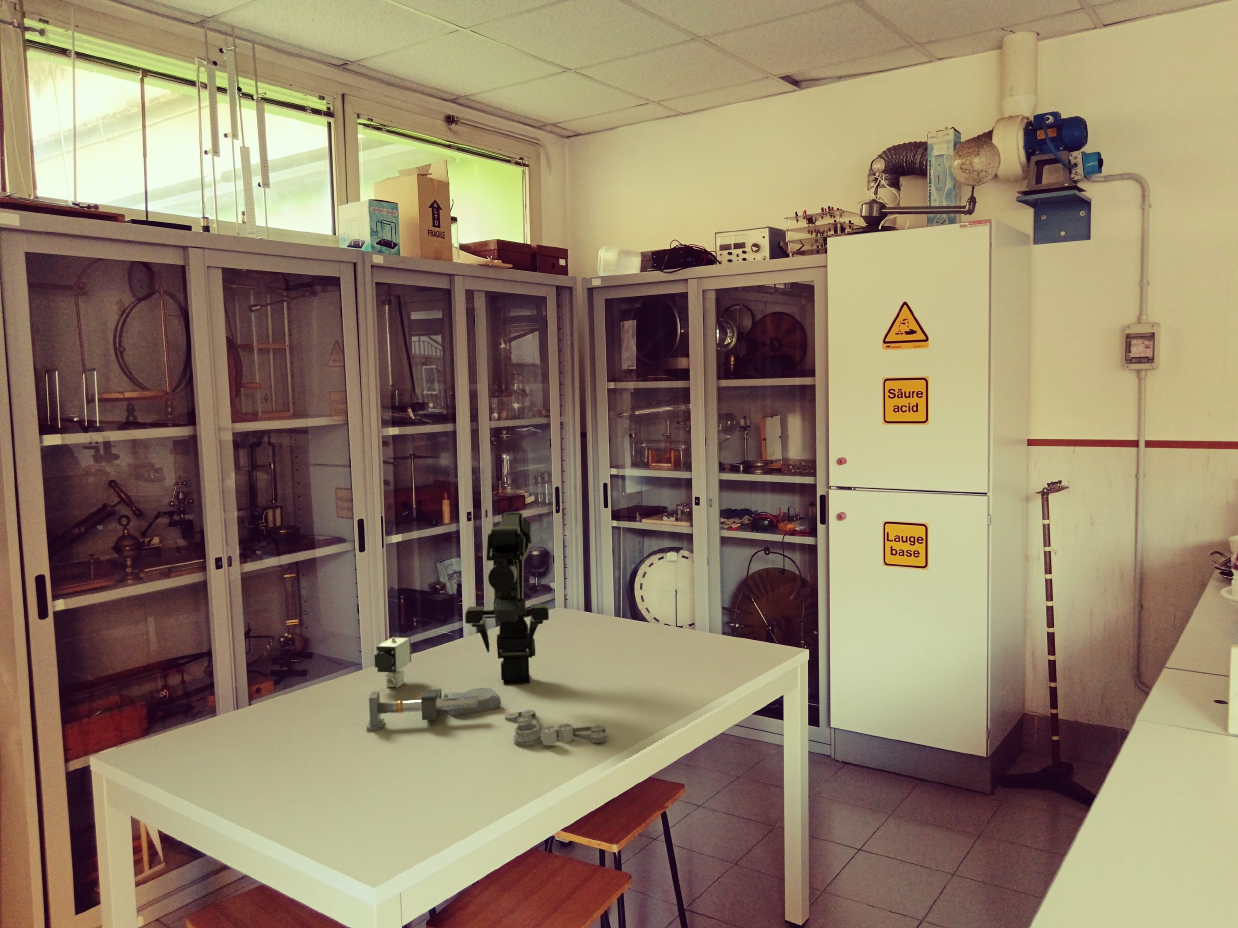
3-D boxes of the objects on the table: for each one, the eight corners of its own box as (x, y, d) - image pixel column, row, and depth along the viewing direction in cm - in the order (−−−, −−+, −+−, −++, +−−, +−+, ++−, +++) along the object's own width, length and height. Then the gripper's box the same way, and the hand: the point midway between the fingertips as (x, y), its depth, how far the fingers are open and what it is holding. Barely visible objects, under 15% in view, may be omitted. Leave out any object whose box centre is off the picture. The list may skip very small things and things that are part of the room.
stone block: (439, 713, 206) (451, 718, 197) (438, 692, 207) (450, 695, 198) (489, 706, 212) (503, 710, 203) (488, 685, 212) (501, 688, 203)
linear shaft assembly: (478, 715, 199) (477, 684, 198) (477, 723, 194) (476, 692, 193) (370, 722, 196) (368, 691, 195) (366, 731, 191) (365, 698, 190)
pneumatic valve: (414, 678, 226) (412, 631, 226) (393, 693, 215) (391, 644, 214) (393, 677, 228) (391, 630, 227) (372, 692, 216) (370, 643, 215)
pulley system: (571, 767, 172) (618, 737, 184) (568, 743, 172) (616, 715, 184) (471, 741, 189) (521, 716, 201) (469, 720, 189) (519, 695, 200)
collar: (441, 699, 207) (440, 676, 206) (436, 721, 193) (435, 697, 192) (428, 700, 207) (427, 677, 206) (422, 722, 192) (421, 698, 192)
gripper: (462, 591, 196) (464, 661, 197) (547, 587, 198) (549, 657, 199) (466, 582, 207) (468, 649, 208) (547, 579, 209) (549, 645, 210)
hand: (508, 650), depth 206 cm, fingers open, 9 cm apart
